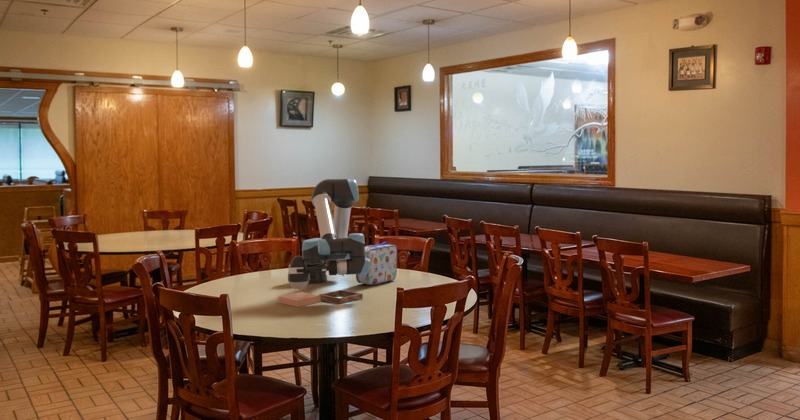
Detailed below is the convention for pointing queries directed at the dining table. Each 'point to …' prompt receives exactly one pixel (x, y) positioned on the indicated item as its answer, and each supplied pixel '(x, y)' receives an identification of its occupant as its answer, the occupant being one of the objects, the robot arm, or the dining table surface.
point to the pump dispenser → (300, 278)
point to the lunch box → (380, 264)
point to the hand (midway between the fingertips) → (289, 269)
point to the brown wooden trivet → (332, 295)
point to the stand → (299, 299)
